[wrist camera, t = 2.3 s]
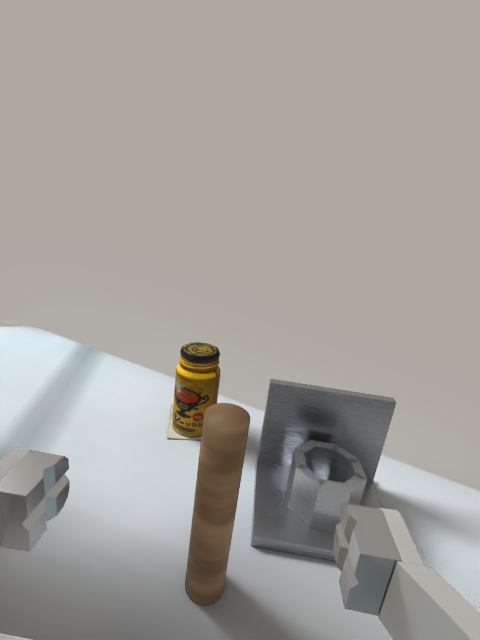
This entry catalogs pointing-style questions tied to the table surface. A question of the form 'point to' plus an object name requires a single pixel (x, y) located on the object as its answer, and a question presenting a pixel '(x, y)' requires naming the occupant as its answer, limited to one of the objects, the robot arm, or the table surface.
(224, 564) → the wooden cylinder rod
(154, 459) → the table surface
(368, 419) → the cup bracket
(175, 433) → the condiment
